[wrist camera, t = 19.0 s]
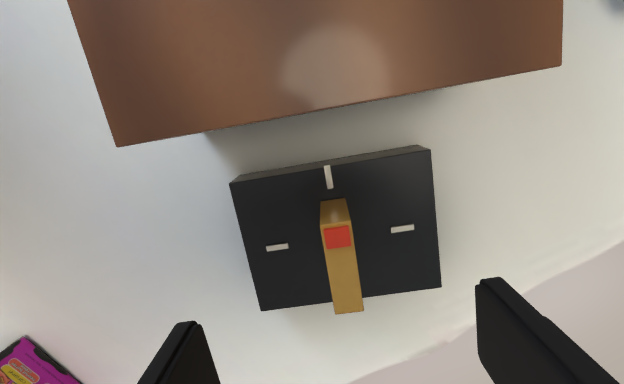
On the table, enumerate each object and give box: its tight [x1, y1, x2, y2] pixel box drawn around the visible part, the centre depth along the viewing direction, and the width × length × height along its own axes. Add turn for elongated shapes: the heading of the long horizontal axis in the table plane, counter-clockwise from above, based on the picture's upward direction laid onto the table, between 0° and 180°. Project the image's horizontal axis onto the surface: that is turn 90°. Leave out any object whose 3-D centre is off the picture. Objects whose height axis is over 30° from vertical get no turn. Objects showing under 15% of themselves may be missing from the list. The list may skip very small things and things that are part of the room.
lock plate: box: [229, 145, 442, 311], centre depth 20 cm, size 12×9×3 cm
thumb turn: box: [320, 198, 364, 314], centre depth 17 cm, size 5×2×4 cm, turn 10°
